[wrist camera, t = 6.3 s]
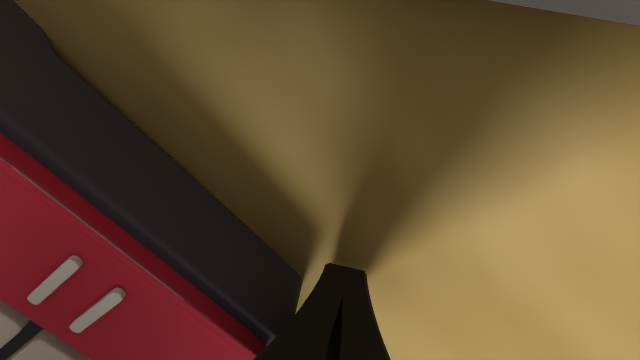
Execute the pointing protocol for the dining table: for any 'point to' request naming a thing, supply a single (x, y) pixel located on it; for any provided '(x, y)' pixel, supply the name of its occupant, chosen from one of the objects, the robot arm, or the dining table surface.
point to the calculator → (115, 232)
